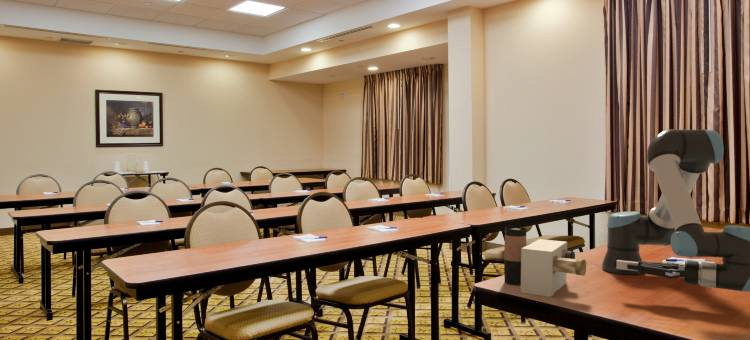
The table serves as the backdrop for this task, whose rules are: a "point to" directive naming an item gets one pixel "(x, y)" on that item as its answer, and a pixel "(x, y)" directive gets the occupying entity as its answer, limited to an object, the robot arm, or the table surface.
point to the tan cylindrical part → (568, 254)
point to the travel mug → (513, 254)
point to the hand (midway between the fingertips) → (616, 264)
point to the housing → (541, 267)
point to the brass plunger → (569, 265)
